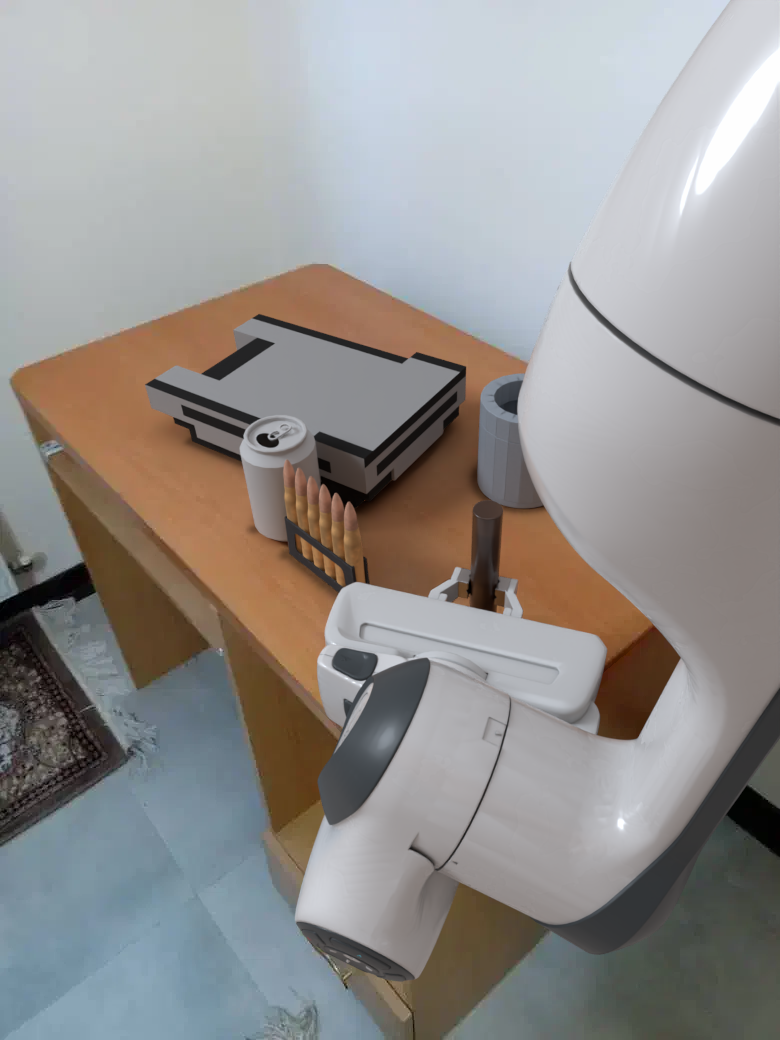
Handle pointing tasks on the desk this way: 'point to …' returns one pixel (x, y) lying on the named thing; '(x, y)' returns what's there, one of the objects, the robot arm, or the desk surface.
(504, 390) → the hollow cylinder
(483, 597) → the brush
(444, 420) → the game console
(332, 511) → the ammunition clip
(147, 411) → the desk surface
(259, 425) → the can
